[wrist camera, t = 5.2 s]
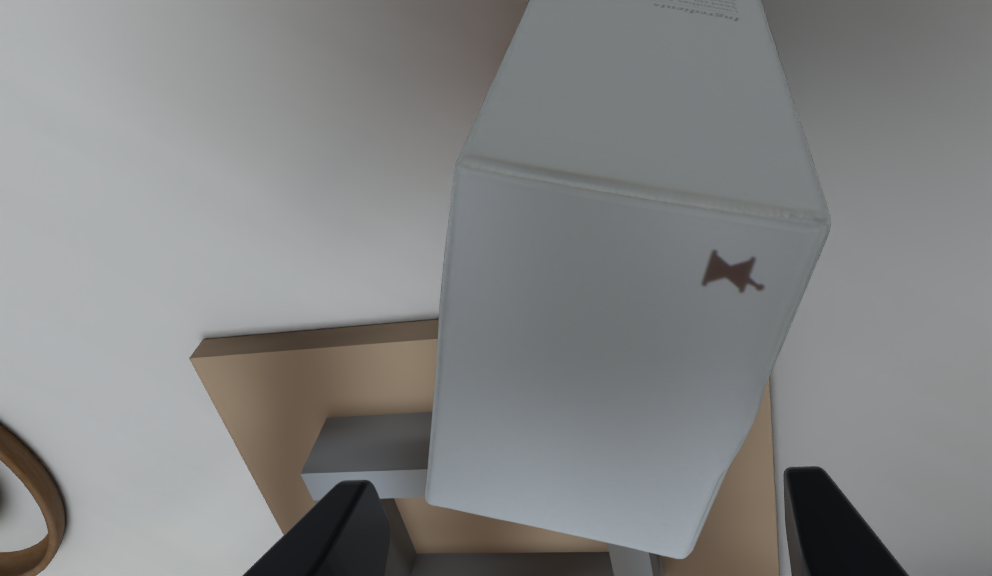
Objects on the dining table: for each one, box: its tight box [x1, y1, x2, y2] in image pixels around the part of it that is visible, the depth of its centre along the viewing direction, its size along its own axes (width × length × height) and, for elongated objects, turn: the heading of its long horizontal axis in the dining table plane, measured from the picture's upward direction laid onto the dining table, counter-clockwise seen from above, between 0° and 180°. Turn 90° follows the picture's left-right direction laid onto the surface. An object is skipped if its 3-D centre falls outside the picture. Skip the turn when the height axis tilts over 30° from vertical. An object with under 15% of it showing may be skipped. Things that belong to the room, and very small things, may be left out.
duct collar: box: [189, 319, 779, 576], centre depth 28 cm, size 18×14×4 cm
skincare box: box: [425, 0, 831, 559], centre depth 15 cm, size 6×4×12 cm
